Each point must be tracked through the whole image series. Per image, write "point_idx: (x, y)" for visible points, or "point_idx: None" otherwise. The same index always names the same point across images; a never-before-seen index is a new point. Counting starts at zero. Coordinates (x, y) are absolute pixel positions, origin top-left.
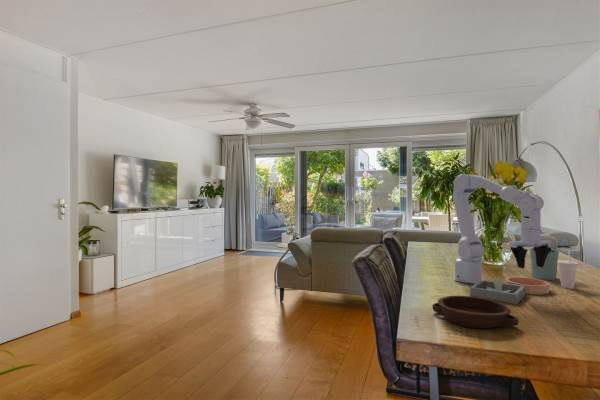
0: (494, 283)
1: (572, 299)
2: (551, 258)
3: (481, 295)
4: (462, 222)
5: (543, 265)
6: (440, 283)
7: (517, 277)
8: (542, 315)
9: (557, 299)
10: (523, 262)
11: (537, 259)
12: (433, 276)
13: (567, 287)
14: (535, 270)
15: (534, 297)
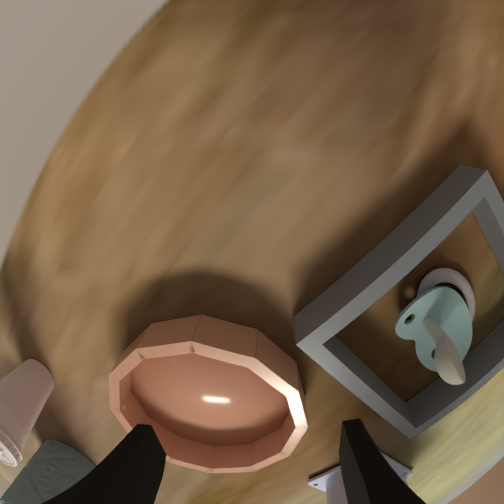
0: (460, 358)
1: (98, 216)
2: (28, 492)
3: None
4: None
5: (132, 432)
6: (474, 441)
7: (203, 466)
8: (442, 5)
9: (172, 221)
10: (374, 456)
11: (148, 498)
12: (421, 495)
13: (41, 367)
14: None
15: (277, 267)
